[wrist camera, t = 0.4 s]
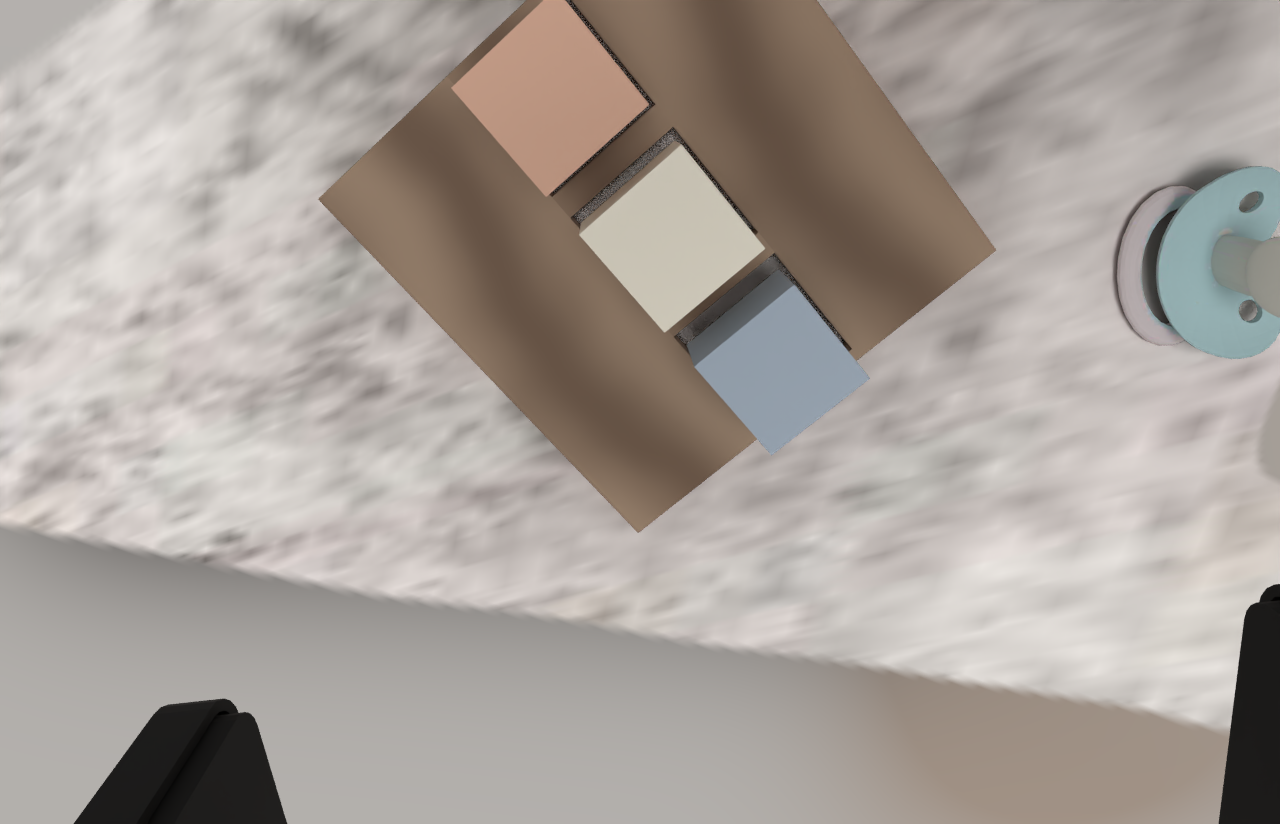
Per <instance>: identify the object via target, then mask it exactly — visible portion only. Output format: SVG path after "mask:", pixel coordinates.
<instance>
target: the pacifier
mask: <svg viewBox="0 0 1280 824" xmlns="http://www.w3.org/2000/svg"><path fill="white" fill-rule="evenodd" d="M1254 191H1257V193H1258V195H1259V199H1258V201H1257V203H1256V204H1255V206H1254V207H1252V208H1251V209H1250V210H1248V211H1245V212H1241V211H1240V209H1239V204H1240V202H1241V200H1242V199H1243V198H1244V197H1245V196H1246V195H1247V194H1249V193H1251V192H1254ZM1176 209H1178V211H1177V212H1176V214H1175V215H1174V216H1173V218H1172V220H1171V221H1170V223H1169V225H1168V227H1167V229H1166V231H1165V233H1164V235H1163V238H1162V241H1161V244H1160V248H1159V252H1158V256H1157V264H1156V282H1157V291H1158V295H1159V299H1160V302H1161V305H1162V308H1163V311H1164V313H1165V315H1166V317H1167V318H1168V320H1169V322H1170V323H1162V322H1160V321H1159V320H1158V319H1157V318H1156V317H1155V316H1154V315H1153V313H1152V311H1151V310H1150V308H1149V306H1148V305H1147V302H1146V299H1145V296H1144V293H1143V287H1142V278H1141V272H1142V260H1143V255H1144V251H1145V247H1146V244H1147V242H1148V239H1149V237H1150V235H1151V233H1152V231H1153V229H1154V228H1155V227H1156V225H1157V224H1158V222H1159V221H1160V220H1161V219H1162V218H1163V217H1164V216H1165V215H1167V214H1168V213H1169V212H1171V211H1174V210H1176ZM1279 221H1280V173H1279V172H1278V171H1277V170H1275V169H1273V168H1269V167H1262V166H1256V167H1246V168H1241V169H1237V170H1235V171H1232V172H1229V173H1227V174H1224V175H1222V176H1220V177H1219V178H1217V179H1215V180H1213V181H1211V182H1210V183H1208V184H1207V185H1205V186H1203V187H1202V188H1201V189H1199V190H1198V191H1195V190H1193V189H1191V188H1188V187H1186V186H1170V187H1167V188H1165V189H1162V190H1160V191H1157V192H1155V193H1154V194H1153V195H1152V196H1151V197H1149V198H1148V199H1147V200H1146V201H1145V202H1144V203H1142V204H1141V206H1140V207H1139V208H1138V210H1137V211H1136V213H1135V214H1134V215H1133V217H1132V218H1131V220H1130V222H1129V224H1128V227H1127V229H1126V231H1125V233H1124V236H1123V238H1122V243H1121V247H1120V251H1119V255H1118V266H1117V284H1118V292H1119V298H1120V301H1121V304H1122V307H1123V310H1124V313H1125V316H1126V318H1127V319H1128V321H1129V322H1130V324H1131V326H1132V327H1133V329H1134V330H1135V331H1136V332H1137V333H1138V334H1139V335H1140V336H1141V337H1143V338H1144V339H1145V340H1146V341H1149V342H1151V343H1154V344H1156V345H1175V344H1177V343H1180V342H1182V341H1185V340H1186V341H1187V342H1188V343H1189V344H1190V345H1192V346H1193V347H1195V348H1197V349H1199V350H1202V351H1204V352H1206V353H1209V354H1212V355H1215V356H1218V357H1224V358H1229V359H1241V358H1246V357H1252V356H1254V355H1257V354H1259V353H1261V352H1262V351H1264V350H1265V349H1267V348H1269V346H1270V345H1271V344H1272V343H1273V342H1274V341H1275V340H1276V338H1277V336H1278V334H1279V333H1280V237H1274V238H1271V236H1272V234H1273V233H1274V231H1275V229H1276V228H1277V225H1278V223H1279ZM1270 238H1271V239H1270ZM1246 300H1252V301H1254V303H1255V304H1256V306H1257V311H1258V312H1257V315H1256V317H1255V318H1254V319H1253V320H1251V321H1244V320H1243V319H1242V318H1241V317H1240V315H1239V306H1240V305H1241V303H1242V302H1244V301H1246Z"/></svg>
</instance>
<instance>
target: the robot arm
mask: <svg viewBox="0 0 1280 824" xmlns="http://www.w3.org/2000/svg"><path fill="white" fill-rule="evenodd" d="M74 824H287V822H286V818H285V815H284V812H283V808H282V805H281V802H280V799H279V795H278V792H277V789H276V785H275V782H274V779H273V775H272V772H271V769H270V766H269V762H268V759H267V755H266V752H265V749H264V745H263V742H262V739H261V735H260V732H259V729H258V725H257V723H256V721H255V718H254V717H253V716H252V715H251V714H250V713H246V712H243V713H238V710H237V708H236V706H235V705H234V704H233V703H232V702H231V701H230V700H227V699H216V700H207V701H199V702H189V703H179V704H170V705H166V706H163V707H161V708H160V709H159V710H158V711H157V712H156V713H155V714H154V715H153V716H152V717H151V719H150V720H149V722H148V723H147V724H146V726H145V727H144V728H143V730H142V731H141V732H140V734H139V735H138V736H137V738H136V739H135V741H134V742H133V743H132V745H131V746H130V747H129V749H128V750H127V752H126V753H125V754H124V756H123V757H122V758H121V760H120V761H119V762H118V764H117V765H116V767H115V768H114V769H113V771H112V772H111V773H110V775H109V776H108V777H107V779H106V780H105V782H104V783H103V785H102V786H101V787H100V788H99V790H98V791H97V792H96V794H95V795H94V797H93V798H92V799H91V801H90V802H89V804H88V805H87V806H86V808H85V809H84V810H83V812H82V813H81V815H80V816H79V817H78V819H77V820H76V821H75V823H74ZM1219 824H1280V584H1276V585H1273V586H1271V587H1268V588H1267V589H1266V590H1265V591H1264V593H1263V594H1262V595H1261V598H1260V601H1259V603H1255V604H1253V605H1251V606H1250V607H1249V608H1248V610H1247V611H1246V615H1245V618H1244V626H1243V634H1242V642H1241V650H1240V658H1239V666H1238V674H1237V682H1236V690H1235V697H1234V705H1233V713H1232V721H1231V729H1230V737H1229V746H1228V754H1227V761H1226V769H1225V778H1224V785H1223V793H1222V802H1221V809H1220V817H1219Z"/></svg>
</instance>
